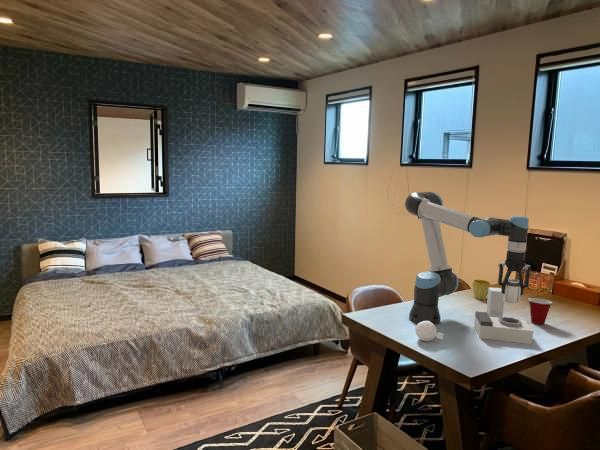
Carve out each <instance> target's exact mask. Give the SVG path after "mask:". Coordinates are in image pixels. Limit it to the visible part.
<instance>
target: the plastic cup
mask: <svg viewBox="0 0 600 450" xmlns="http://www.w3.org/2000/svg"><path fill="white" fill-rule="evenodd" d="M527 301H528V302H529V309H530V310H529V313H530V321H531V323H532V324H534V325H539V326H542V325H545V323H546V319H547V317H548V314H549V311H550V308H551V305H552V304H553V301H551V300H547V299H543V298H534V297H533V298H531V297H529V298H528V299H527Z"/></svg>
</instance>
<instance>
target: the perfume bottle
mask: <svg viewBox="0 0 600 450" xmlns="http://www.w3.org/2000/svg"><path fill="white" fill-rule="evenodd" d="M415 335H416V336H417V339H420V340H421V341H422V342H431V341H433V340H434V339H435V338H436V339H440V340H444V335H445V333H441V332H437V327H436V326H435V325H434V324H433V323H431V322H430V321H422V322H420V323H417V324H416V326H415Z"/></svg>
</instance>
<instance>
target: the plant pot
mask: <svg viewBox="0 0 600 450" xmlns="http://www.w3.org/2000/svg"><path fill="white" fill-rule="evenodd" d="M471 287H472V288H473V289H472V291H473V297H474V298H476V299H478V300H486V299H487V298H488V288H492V282H490V281H488V280H485V279H473V280H472V283H471Z"/></svg>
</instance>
